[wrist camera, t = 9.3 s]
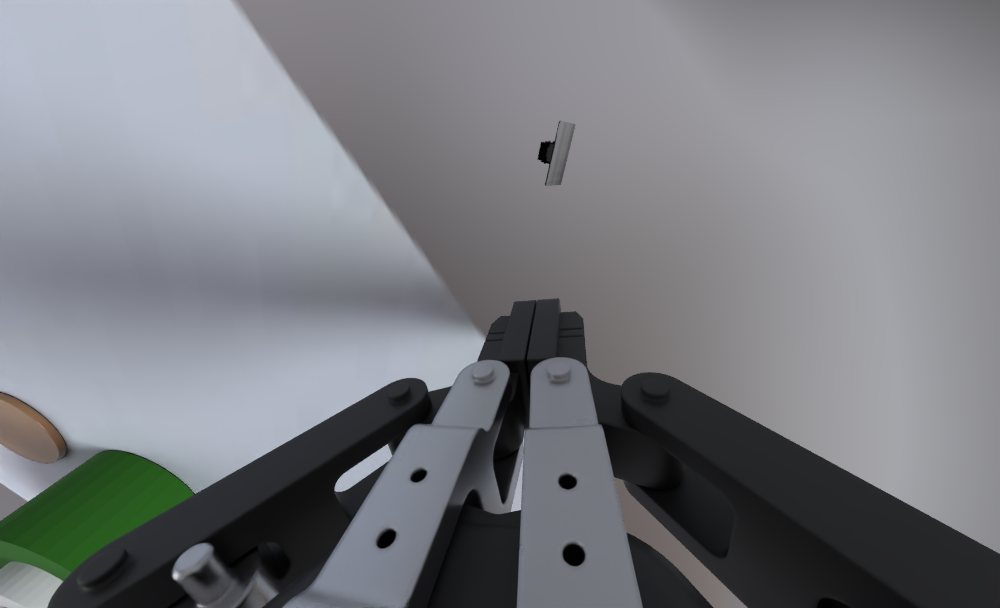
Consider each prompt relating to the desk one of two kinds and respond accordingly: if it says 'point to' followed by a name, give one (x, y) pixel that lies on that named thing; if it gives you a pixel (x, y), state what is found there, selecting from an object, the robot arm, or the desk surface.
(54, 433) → the coaster
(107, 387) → the desk surface
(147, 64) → the desk surface
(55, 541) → the candle
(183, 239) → the desk surface
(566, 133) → the build plate
